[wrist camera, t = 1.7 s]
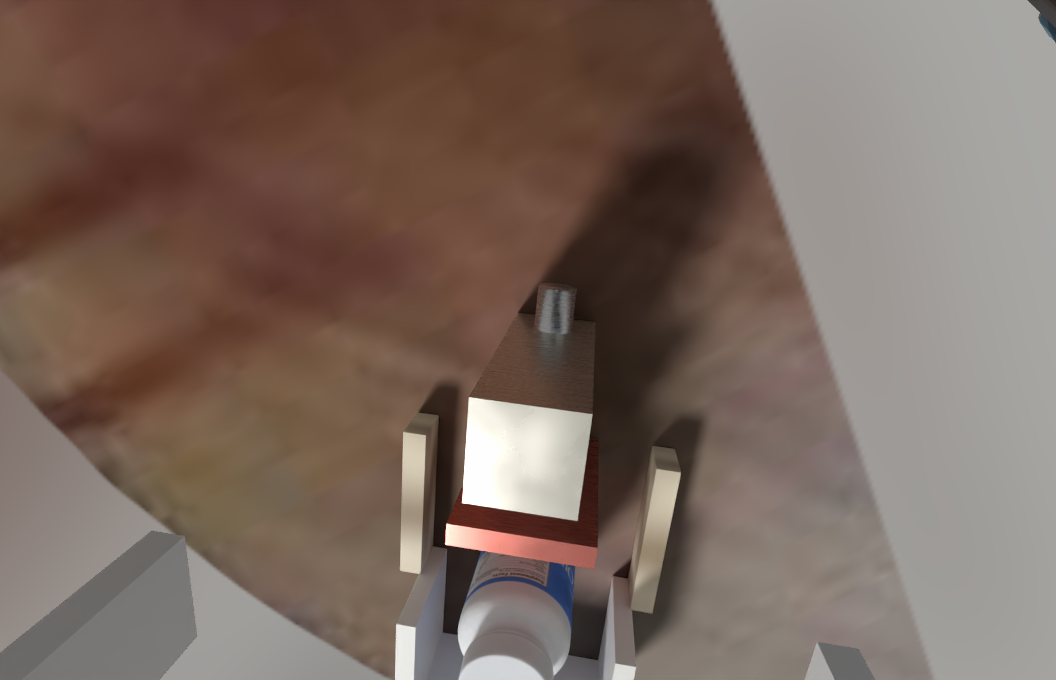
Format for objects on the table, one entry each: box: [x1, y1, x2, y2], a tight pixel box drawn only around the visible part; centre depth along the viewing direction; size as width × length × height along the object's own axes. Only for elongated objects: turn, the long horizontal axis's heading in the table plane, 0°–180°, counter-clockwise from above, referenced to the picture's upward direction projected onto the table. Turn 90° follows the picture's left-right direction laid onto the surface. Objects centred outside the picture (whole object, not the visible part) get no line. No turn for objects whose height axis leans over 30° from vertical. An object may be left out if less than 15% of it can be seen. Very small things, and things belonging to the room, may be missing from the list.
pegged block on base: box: [445, 283, 598, 569], centre depth 23 cm, size 10×6×11 cm, turn 175°
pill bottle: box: [458, 551, 575, 680], centre depth 28 cm, size 6×5×10 cm
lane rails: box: [400, 413, 681, 613], centre depth 30 cm, size 9×14×2 cm, turn 85°
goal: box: [395, 546, 636, 680], centre depth 31 cm, size 8×12×6 cm, turn 85°
